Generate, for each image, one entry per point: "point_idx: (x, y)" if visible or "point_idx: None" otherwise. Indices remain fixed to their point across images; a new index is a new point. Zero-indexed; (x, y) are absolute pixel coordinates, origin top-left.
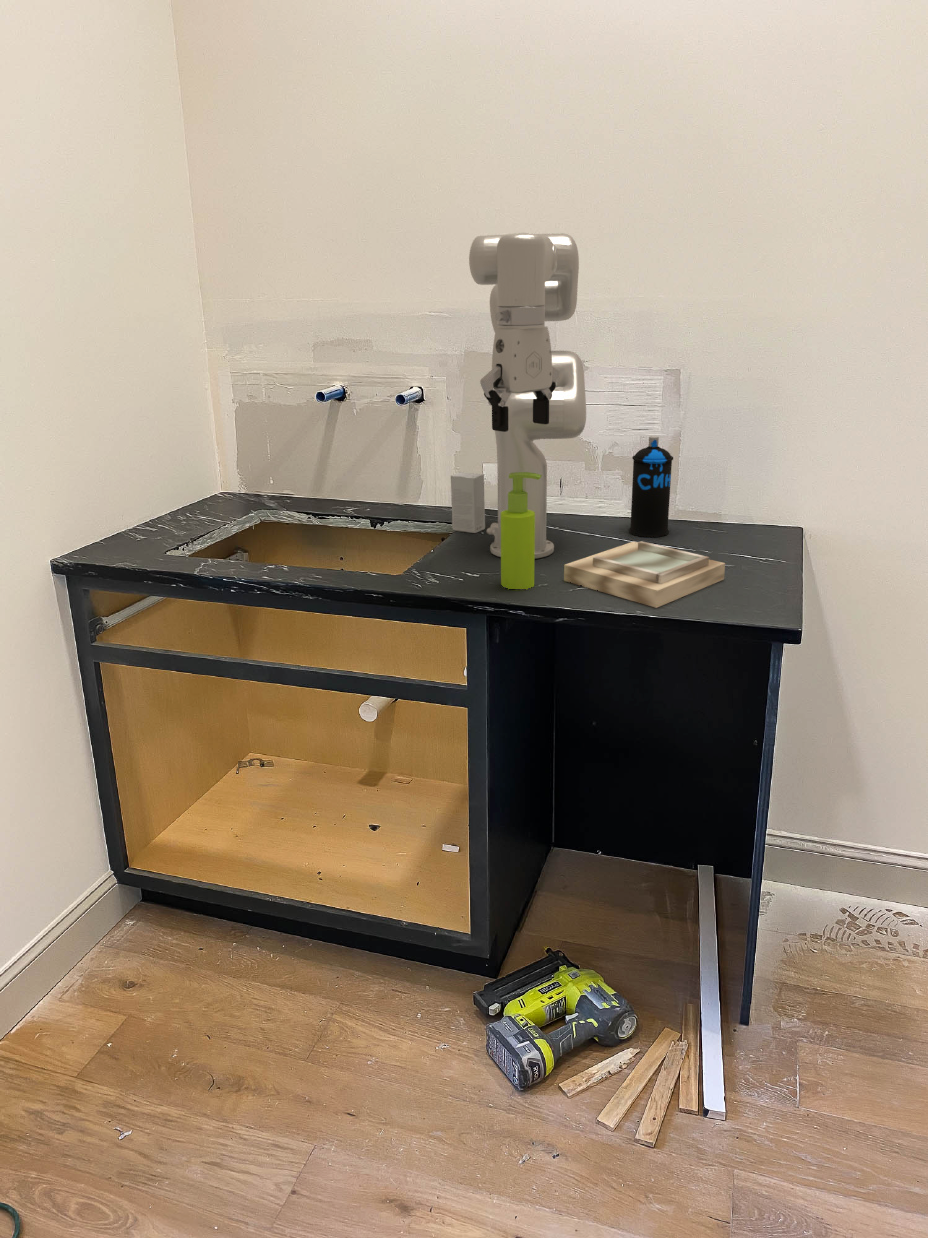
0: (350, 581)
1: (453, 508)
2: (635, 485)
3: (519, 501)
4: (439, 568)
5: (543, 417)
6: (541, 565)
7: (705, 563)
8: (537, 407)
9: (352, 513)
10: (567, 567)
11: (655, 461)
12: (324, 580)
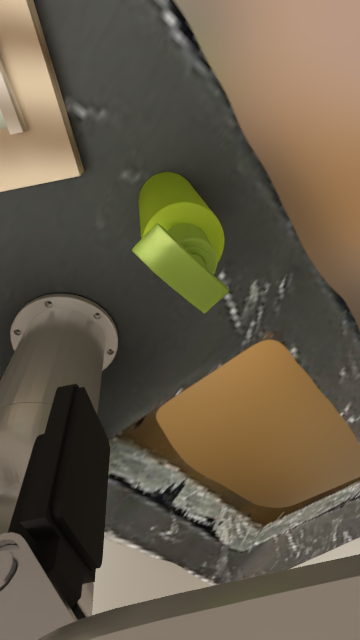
0: (330, 342)
1: None
2: None
3: (200, 234)
4: (215, 330)
5: (84, 420)
6: (75, 264)
7: None
8: (94, 501)
9: (174, 523)
10: (77, 166)
11: None
12: (347, 358)
